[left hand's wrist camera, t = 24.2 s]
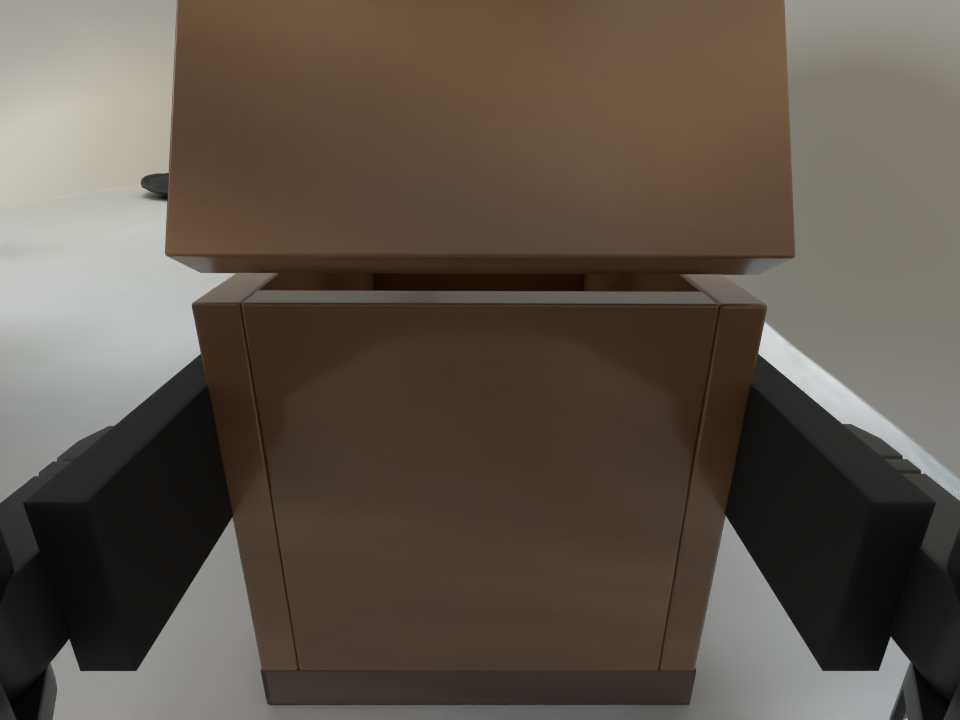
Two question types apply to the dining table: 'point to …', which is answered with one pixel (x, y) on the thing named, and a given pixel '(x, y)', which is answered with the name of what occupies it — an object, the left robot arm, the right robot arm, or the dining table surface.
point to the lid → (480, 137)
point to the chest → (478, 478)
